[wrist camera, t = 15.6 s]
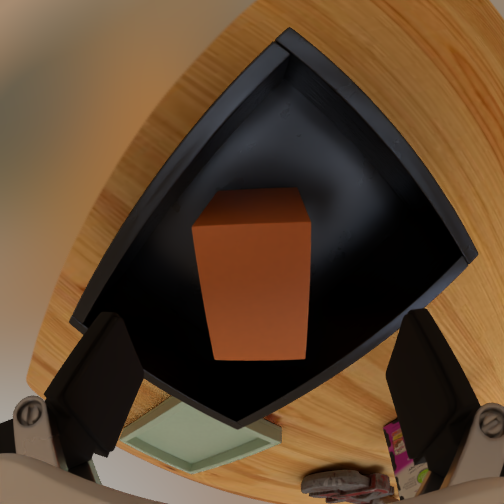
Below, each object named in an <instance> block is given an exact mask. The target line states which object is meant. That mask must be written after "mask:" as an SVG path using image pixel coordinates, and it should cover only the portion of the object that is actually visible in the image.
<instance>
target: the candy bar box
mask: <svg viewBox="0 0 504 504" xmlns="http://www.w3.org/2000/svg"><path fill="white" fill-rule="evenodd" d="M383 430H384V434H385V438H386V442H387V446H388V450H389V453H390V458H391V462H392V466H393V470H394V474H395V478H396V482H397V487H398V492H399V497H400V500H404V499H408V498H412V497H414V496H415V494H416V492H417V491H418V489H419V487H420V485H421V484H422V482H423V480H424V478H425V476H426V474H427V473H428V471H429V470H428V466H427V462H426V463H423V464H419V465H415V466H414V462H413V459H409V457H408V455H407V451H406V447H405V443H404V439H403V435H402V431H401V428H400V424H399V420H398V419H396V420H395V421H393V422H391V423H390V424H388V425H386V426H385V427H383Z"/></svg>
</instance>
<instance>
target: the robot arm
mask: <svg viewBox="0 0 504 504" xmlns="http://www.w3.org/2000/svg"><path fill="white" fill-rule="evenodd" d="M143 378H144V370H143V368H142V365H141V363H140V361H139V358H138V356H137V353H136V351H135V349H134V346H133V344H132V341H131V339H130V336H129V334H128V331H127V328H126V326H125V323H124V320H123V319H122V318H121V317H119V315H118V314H117V313H113V312H101V313H100V314H99V315H98V316H97V318H96V319H95V320H94V322H93V323H92V324H91V326H90V327H89V329H88V330H87V331H86V333H85V334H84V335H83V337H82V338H81V340H80V341H79V342H78V344H77V345H76V347H75V348H74V349H73V351H72V352H71V354H70V355H69V357H68V358H67V360H66V361H65V362H64V364H63V365H62V367H61V368H60V370H59V371H58V373H57V374H56V376H55V377H54V379H53V380H52V382H51V384H50V385H49V387H48V388H47V390H46V391H45V393H44V395H45V397H46V400H45V402H44V400H43V399H42V398H40V397H38V396H28V397H26V398H24V399H22V400H21V401H20V402H19V403H18V405H17V406H16V407H15V410H14V412H13V419H11V420H8V421H6V422H3V423H0V504H166V503H162V502H157V501H153V500H149V499H145V498H141V497H138V496H134V495H131V494H127V493H124V492H121V491H118V490H115V489H112V488H109V487H106V486H103V485H102V484H101V481H100V479H99V476H98V474H97V471H96V469H95V466H94V463H93V461H92V455H93V453H95V454H98V455H101V456H104V457H108V455H109V452H110V451H113V450H114V448H115V446H116V443H117V441H118V438H119V436H120V433H121V431H122V428H123V426H124V424H125V421H126V419H127V416H128V414H129V411H130V409H131V407H132V404H133V402H134V400H135V397H136V395H137V393H138V390H139V388H140V386H141V383H142V381H143ZM386 380H387V383H388V386H389V390H390V393H391V396H392V400H393V403H394V406H395V410H396V413H397V417H398V420H399V424H400V428H401V431H402V435H403V439H404V443H405V447H406V451H407V455H408V457H409V459H413V462H414V466H415V465H419V464H423V463H426V462H427V466H428V470H429V471H428V473H427V474H426V476H425V478H424V480H423V482H422V484H421V485H420V487H419V489H418V491H417V492H416V494H415V496H414V497H412V498H408V499H404V500H400V501H396V502H391V503H387V504H504V407H503V406H501V405H499V404H496V403H487V404H485V405H483V406H480V404H479V402H478V399H477V397H476V395H475V393H474V391H473V389H472V387H471V385H470V383H469V381H468V379H467V377H466V375H465V373H464V372H463V370H462V368H461V366H460V364H459V362H458V360H457V359H456V357H455V355H454V353H453V351H452V350H451V348H450V346H449V344H448V343H447V341H446V339H445V338H444V336H443V334H442V332H441V331H440V329H439V327H438V326H437V324H436V323H435V321H434V319H433V318H432V316H431V314H430V313H429V311H428V310H427V309H425V308H422V309H413V310H409V312H408V314H407V315H404V316H403V319H402V323H401V326H400V330H399V333H398V336H397V340H396V343H395V346H394V349H393V352H392V355H391V358H390V361H389V364H388V367H387V370H386Z"/></svg>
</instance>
